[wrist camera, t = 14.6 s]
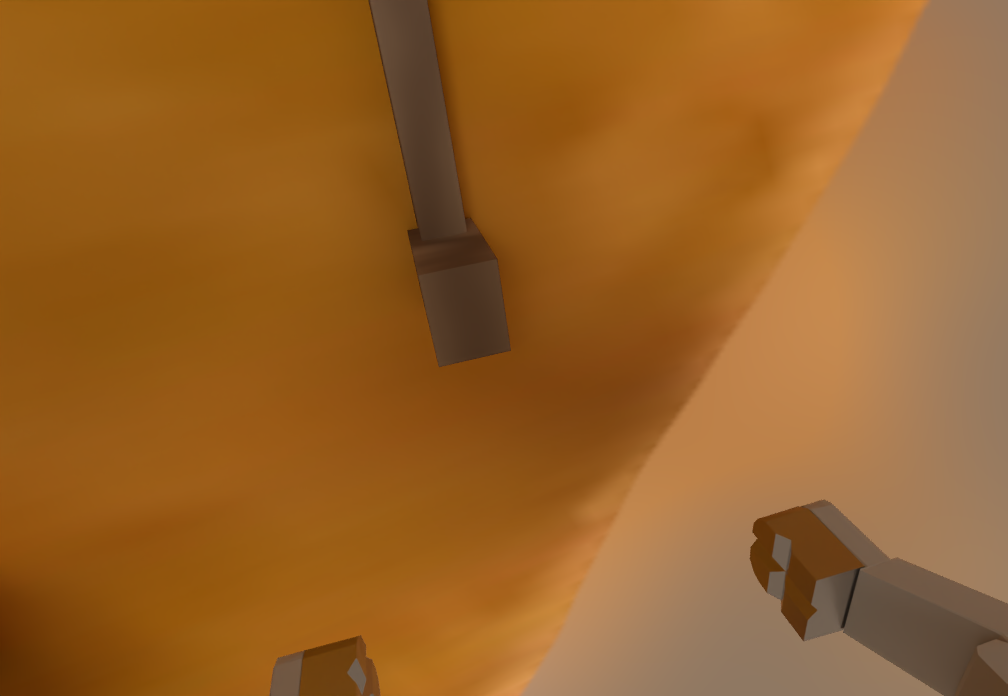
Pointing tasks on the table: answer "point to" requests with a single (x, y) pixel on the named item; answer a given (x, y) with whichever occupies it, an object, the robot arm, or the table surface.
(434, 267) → the hooked rake
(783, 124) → the table surface
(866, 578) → the robot arm
